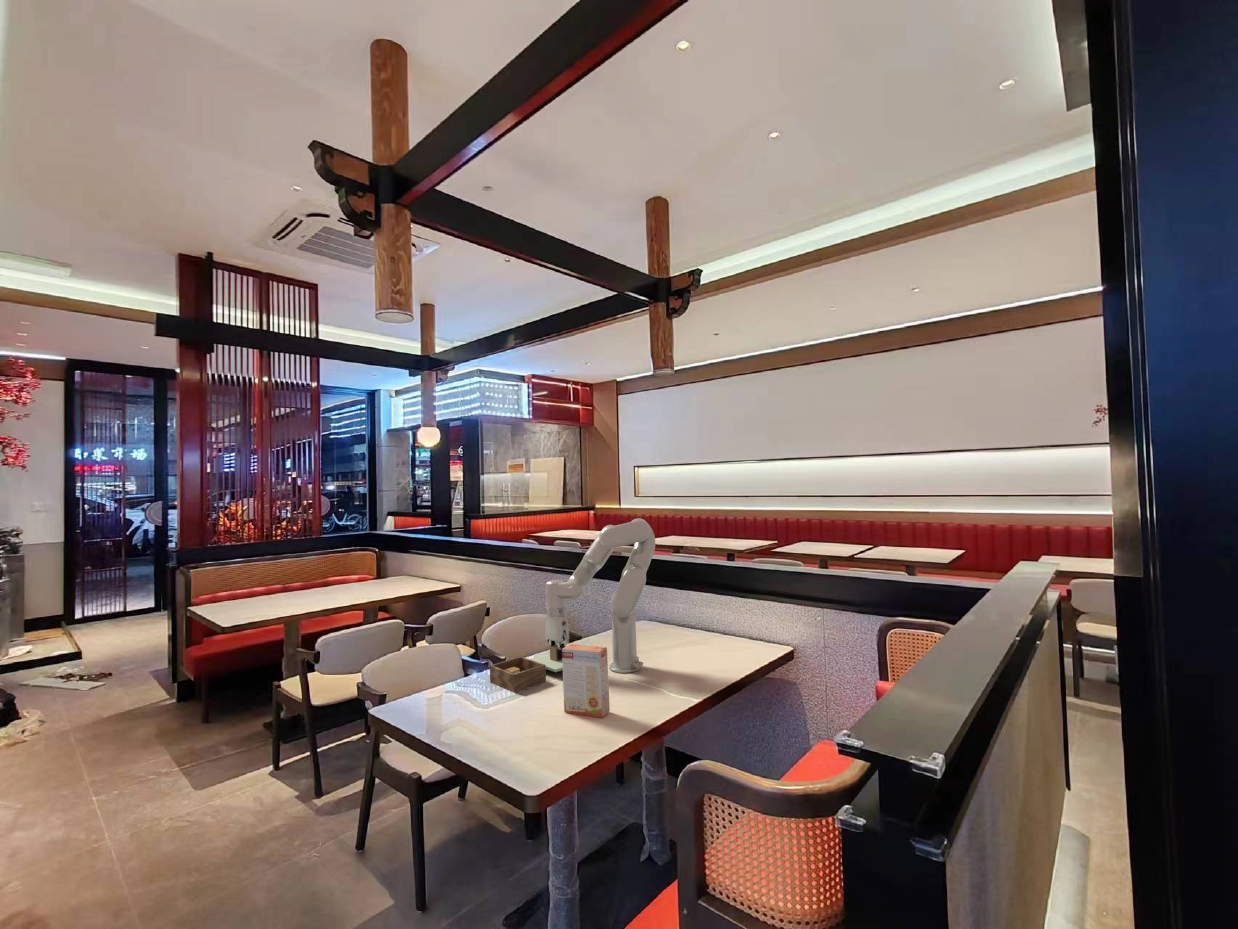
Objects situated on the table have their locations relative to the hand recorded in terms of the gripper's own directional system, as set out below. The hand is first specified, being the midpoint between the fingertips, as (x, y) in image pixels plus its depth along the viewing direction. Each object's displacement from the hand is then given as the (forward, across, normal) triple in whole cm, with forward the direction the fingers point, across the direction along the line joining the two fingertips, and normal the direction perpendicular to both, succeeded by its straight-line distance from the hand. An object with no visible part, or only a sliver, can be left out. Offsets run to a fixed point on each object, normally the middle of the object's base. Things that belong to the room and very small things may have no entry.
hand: (557, 657), depth 221 cm
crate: (+5, 0, +19) cm, 20 cm away
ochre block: (+4, +3, +19) cm, 20 cm away
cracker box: (+5, -39, +19) cm, 44 cm away
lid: (+2, 0, 0) cm, 2 cm away
